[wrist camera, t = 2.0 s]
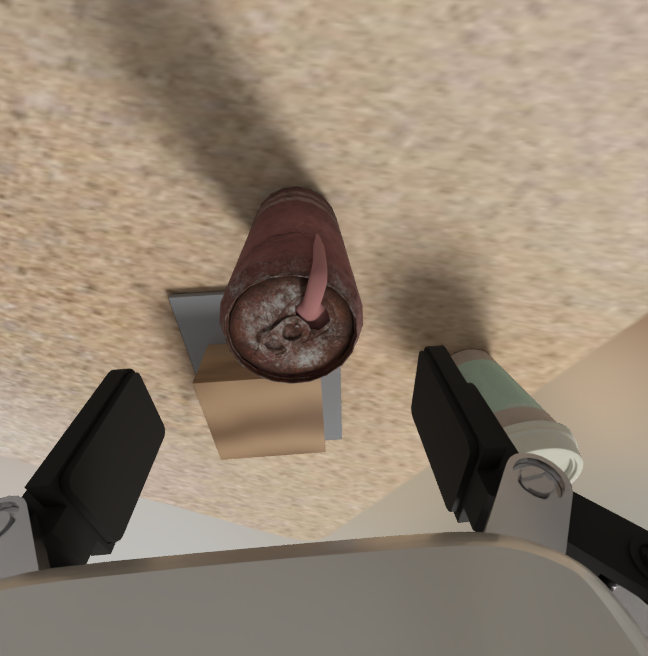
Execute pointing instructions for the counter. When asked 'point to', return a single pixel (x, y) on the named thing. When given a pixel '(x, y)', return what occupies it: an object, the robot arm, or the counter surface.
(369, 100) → the counter surface
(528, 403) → the coffee cup
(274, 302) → the can
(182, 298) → the mat
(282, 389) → the block
